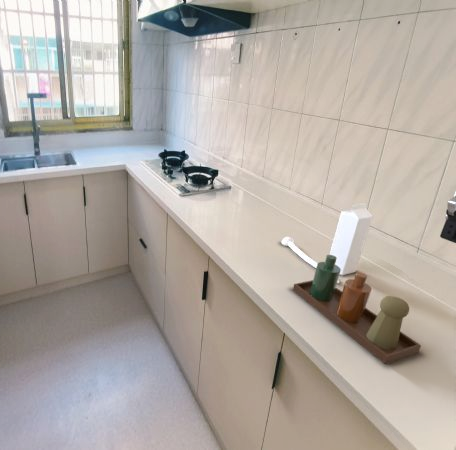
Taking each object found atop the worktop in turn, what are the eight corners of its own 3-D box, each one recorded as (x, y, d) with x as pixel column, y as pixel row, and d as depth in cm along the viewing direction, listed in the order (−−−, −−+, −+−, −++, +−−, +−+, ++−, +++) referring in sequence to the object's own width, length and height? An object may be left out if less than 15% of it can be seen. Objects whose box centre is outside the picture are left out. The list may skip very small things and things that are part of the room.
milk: (355, 272, 106) (377, 206, 97) (341, 275, 103) (362, 208, 94) (338, 262, 111) (358, 199, 102) (325, 266, 108) (344, 201, 99)
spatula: (347, 283, 99) (349, 275, 98) (335, 285, 98) (337, 277, 97) (289, 242, 124) (290, 235, 123) (279, 242, 123) (280, 235, 122)
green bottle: (321, 288, 95) (331, 250, 91) (337, 299, 91) (348, 260, 86) (305, 291, 94) (315, 253, 89) (320, 303, 89) (331, 263, 84)
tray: (320, 284, 98) (322, 278, 98) (418, 353, 74) (421, 345, 73) (292, 290, 95) (294, 283, 94) (385, 364, 71) (388, 356, 70)
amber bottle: (347, 307, 88) (360, 267, 83) (366, 320, 83) (381, 279, 78) (330, 311, 86) (343, 270, 81) (349, 325, 81) (363, 283, 76)
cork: (384, 330, 80) (400, 291, 75) (403, 349, 74) (421, 308, 70) (360, 331, 79) (374, 292, 75) (377, 350, 74) (393, 309, 69)
